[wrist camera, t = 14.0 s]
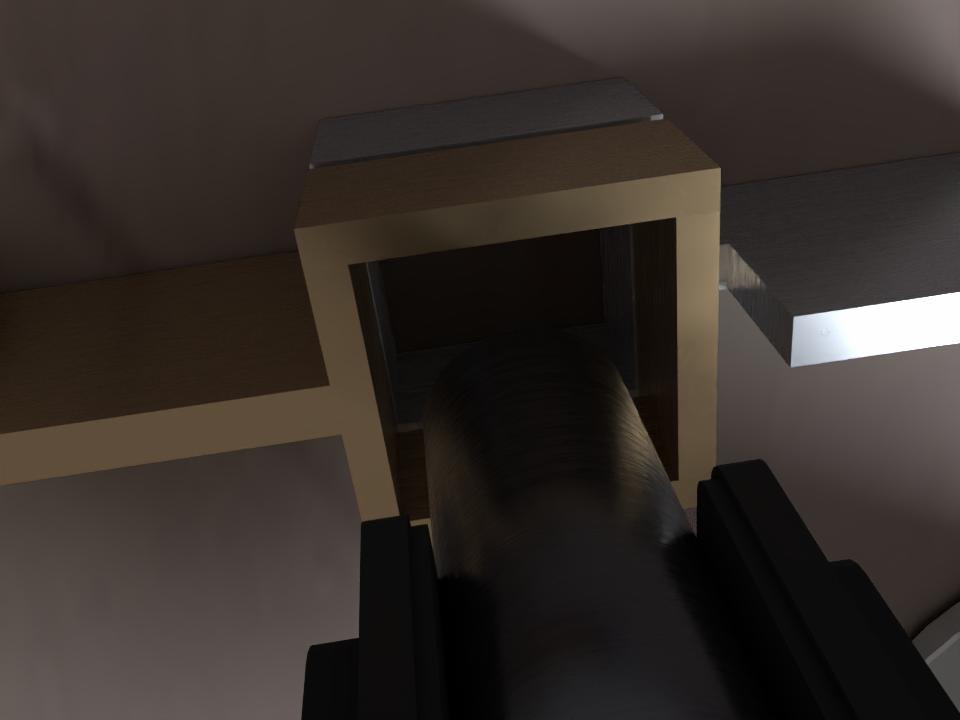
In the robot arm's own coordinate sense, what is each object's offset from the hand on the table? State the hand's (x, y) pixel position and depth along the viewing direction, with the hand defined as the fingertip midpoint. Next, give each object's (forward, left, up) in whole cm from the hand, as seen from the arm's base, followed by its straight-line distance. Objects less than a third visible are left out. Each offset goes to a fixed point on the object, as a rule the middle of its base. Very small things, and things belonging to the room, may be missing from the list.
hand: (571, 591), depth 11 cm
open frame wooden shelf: (+4, 0, -12) cm, 12 cm away
